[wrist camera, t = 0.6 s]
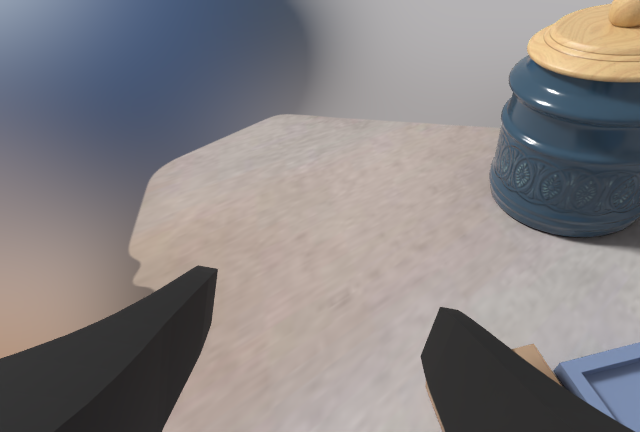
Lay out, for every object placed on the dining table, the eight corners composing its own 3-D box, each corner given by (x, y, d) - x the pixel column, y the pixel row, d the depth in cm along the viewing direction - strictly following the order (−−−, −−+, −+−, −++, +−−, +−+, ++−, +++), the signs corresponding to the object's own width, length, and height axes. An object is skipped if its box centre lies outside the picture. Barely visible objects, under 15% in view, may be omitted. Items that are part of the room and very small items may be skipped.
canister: (536, 257, 28) (630, 39, 16) (464, 170, 38) (488, -9, 25) (686, 218, 28) (897, -34, 16) (576, 141, 37) (655, -56, 25)
